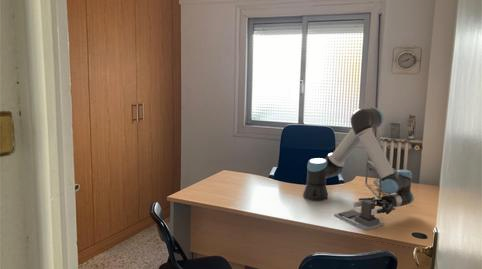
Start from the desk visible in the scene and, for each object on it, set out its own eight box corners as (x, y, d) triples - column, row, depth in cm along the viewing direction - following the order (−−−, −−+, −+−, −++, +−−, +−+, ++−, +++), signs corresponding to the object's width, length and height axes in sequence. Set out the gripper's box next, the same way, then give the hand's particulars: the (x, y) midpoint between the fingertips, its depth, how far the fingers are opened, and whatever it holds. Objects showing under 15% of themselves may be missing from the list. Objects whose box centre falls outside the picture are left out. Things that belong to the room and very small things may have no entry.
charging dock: (333, 216, 199) (334, 209, 198) (352, 211, 206) (352, 205, 205) (365, 230, 181) (365, 223, 180) (383, 224, 188) (384, 218, 188)
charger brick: (360, 221, 190) (361, 200, 188) (365, 219, 192) (367, 199, 190) (368, 224, 186) (369, 203, 184) (373, 223, 188) (375, 201, 186)
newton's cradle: (364, 184, 257) (366, 159, 254) (380, 185, 256) (382, 160, 253) (378, 199, 227) (381, 171, 224) (396, 199, 227) (398, 171, 224)
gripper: (409, 215, 187) (381, 223, 176) (372, 201, 207) (344, 208, 196) (411, 201, 186) (382, 208, 175) (373, 188, 206) (345, 194, 194)
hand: (362, 208), depth 185 cm, fingers open, 11 cm apart
